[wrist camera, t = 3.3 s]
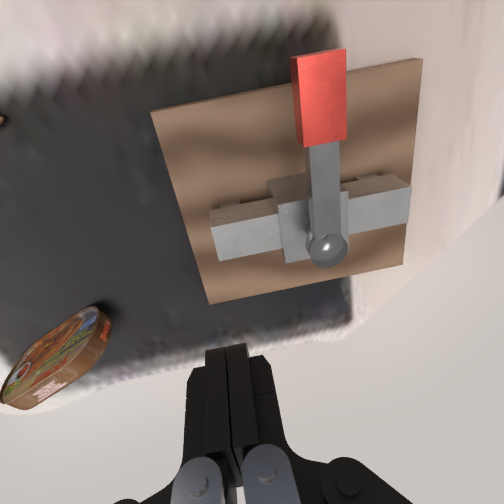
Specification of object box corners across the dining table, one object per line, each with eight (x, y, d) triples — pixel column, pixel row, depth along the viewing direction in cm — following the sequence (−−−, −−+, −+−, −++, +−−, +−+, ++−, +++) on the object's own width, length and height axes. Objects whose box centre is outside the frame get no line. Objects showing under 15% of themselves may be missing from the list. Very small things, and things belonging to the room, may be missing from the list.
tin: (104, 293, 39) (82, 348, 32) (124, 309, 41) (107, 364, 34) (18, 352, 42) (-20, 414, 35) (39, 365, 44) (7, 426, 37)
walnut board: (152, 109, 30) (150, 112, 28) (413, 58, 30) (422, 58, 29) (209, 296, 41) (209, 304, 40) (396, 257, 42) (402, 264, 40)
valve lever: (282, 57, 22) (295, 58, 19) (326, 48, 22) (347, 48, 19) (301, 248, 30) (312, 272, 27) (333, 242, 30) (349, 264, 27)
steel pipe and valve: (206, 192, 33) (207, 219, 27) (384, 156, 33) (417, 176, 28) (219, 243, 36) (222, 276, 31) (381, 210, 36) (411, 237, 31)
